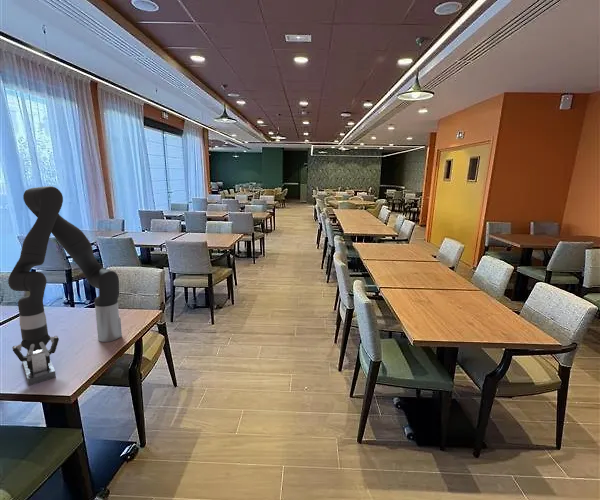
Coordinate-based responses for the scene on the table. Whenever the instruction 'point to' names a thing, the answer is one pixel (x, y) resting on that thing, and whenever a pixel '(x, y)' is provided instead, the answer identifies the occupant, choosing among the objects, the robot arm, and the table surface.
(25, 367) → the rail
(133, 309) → the table surface
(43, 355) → the steel peg
